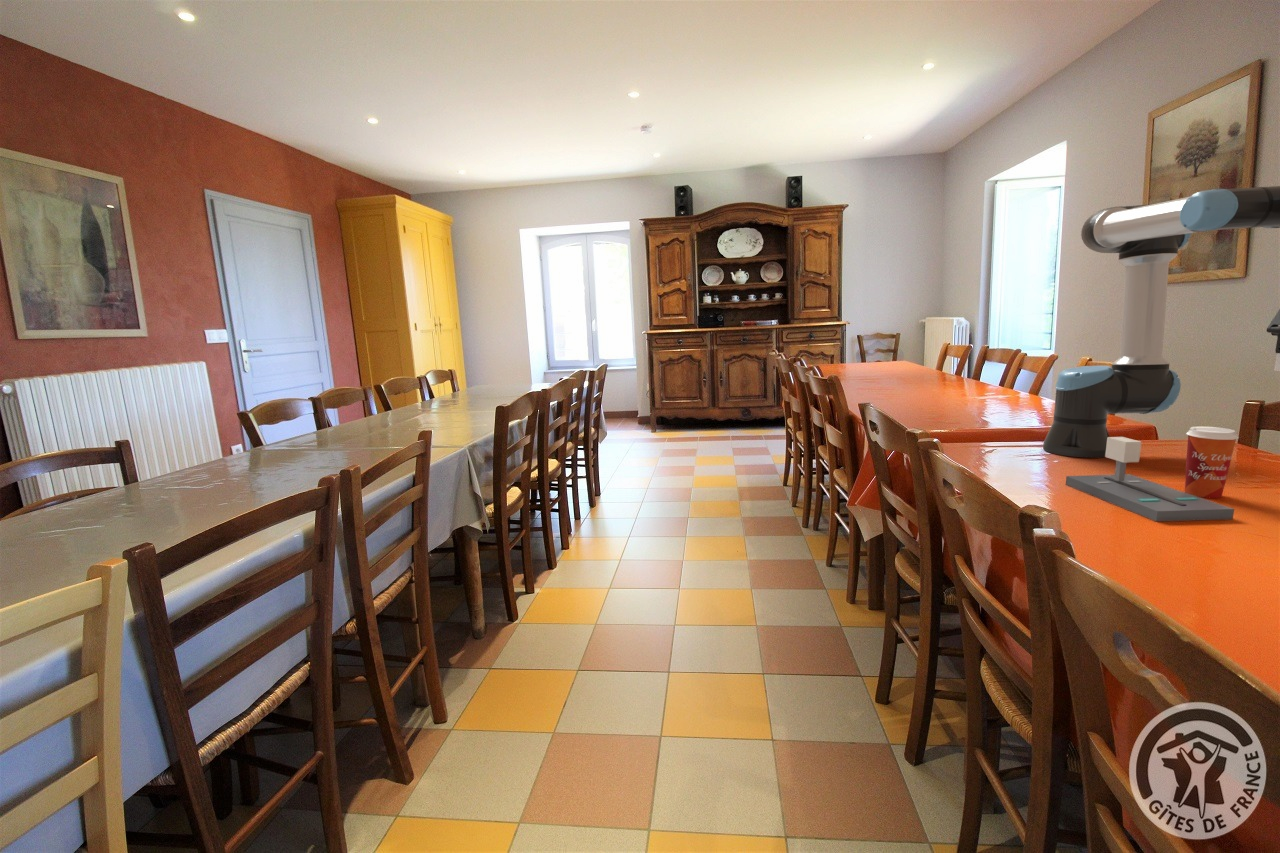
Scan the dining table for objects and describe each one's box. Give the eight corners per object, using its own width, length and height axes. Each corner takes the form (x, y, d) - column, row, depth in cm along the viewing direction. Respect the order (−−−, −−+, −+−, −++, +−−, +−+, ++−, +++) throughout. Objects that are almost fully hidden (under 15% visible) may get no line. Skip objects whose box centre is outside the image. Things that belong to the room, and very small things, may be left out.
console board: (1065, 484, 131) (1066, 475, 131) (1128, 482, 131) (1129, 473, 130) (1156, 521, 108) (1157, 510, 107) (1232, 519, 107) (1234, 507, 107)
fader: (1102, 477, 127) (1107, 437, 125) (1117, 476, 127) (1122, 436, 125) (1120, 483, 122) (1125, 442, 120) (1136, 483, 122) (1141, 441, 120)
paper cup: (1185, 497, 120) (1194, 431, 117) (1172, 487, 126) (1181, 425, 124) (1236, 502, 116) (1247, 434, 113) (1220, 491, 123) (1231, 426, 120)
